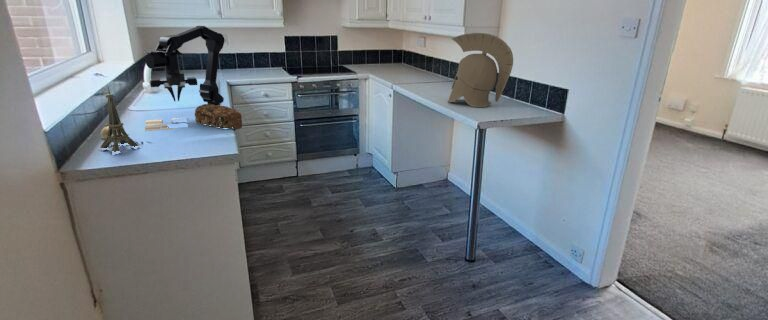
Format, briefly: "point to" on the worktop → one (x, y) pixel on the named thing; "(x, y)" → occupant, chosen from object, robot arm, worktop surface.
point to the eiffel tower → (113, 125)
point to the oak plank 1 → (153, 122)
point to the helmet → (481, 69)
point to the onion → (105, 131)
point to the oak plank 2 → (177, 118)
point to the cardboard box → (157, 127)
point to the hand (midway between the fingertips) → (176, 101)
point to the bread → (218, 116)
